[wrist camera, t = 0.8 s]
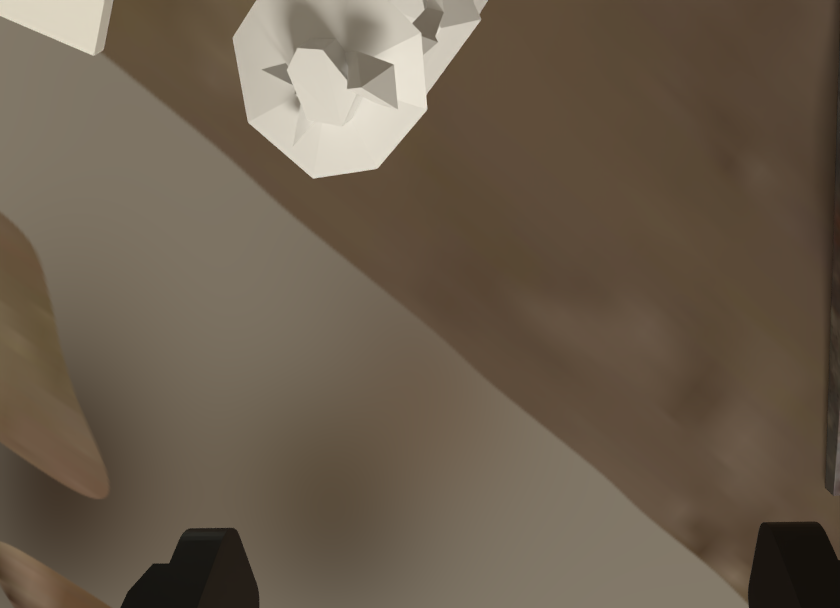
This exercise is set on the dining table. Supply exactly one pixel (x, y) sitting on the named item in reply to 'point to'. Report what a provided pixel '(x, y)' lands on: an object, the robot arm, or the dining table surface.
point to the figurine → (345, 74)
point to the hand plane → (835, 338)
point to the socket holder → (64, 20)
